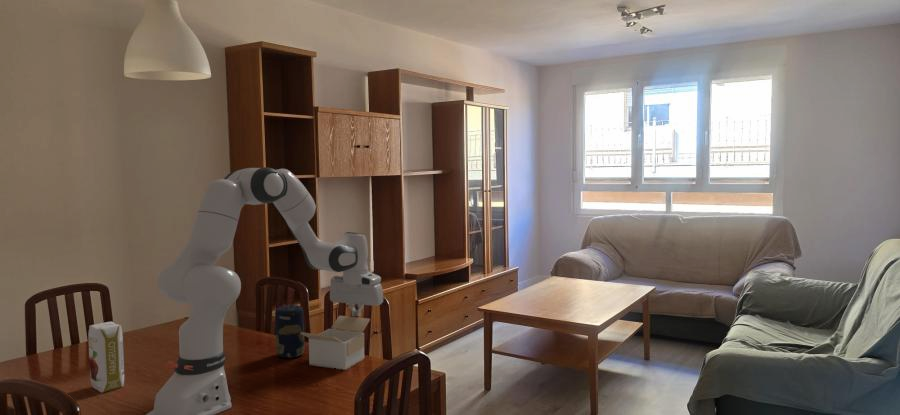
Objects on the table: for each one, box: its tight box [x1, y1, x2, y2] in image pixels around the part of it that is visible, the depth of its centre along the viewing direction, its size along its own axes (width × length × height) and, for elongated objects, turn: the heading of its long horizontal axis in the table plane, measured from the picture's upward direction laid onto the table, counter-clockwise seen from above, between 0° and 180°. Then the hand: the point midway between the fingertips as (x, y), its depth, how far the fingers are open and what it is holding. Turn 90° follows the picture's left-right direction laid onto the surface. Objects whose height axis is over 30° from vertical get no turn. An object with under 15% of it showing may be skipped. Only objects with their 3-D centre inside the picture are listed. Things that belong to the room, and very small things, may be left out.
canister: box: [274, 304, 306, 359], centre depth 202 cm, size 10×10×18 cm
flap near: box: [300, 332, 343, 343], centre depth 186 cm, size 6×12×1 cm
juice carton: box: [87, 321, 125, 393], centre depth 173 cm, size 8×9×19 cm
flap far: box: [330, 315, 371, 333], centre depth 203 cm, size 6×12×1 cm, turn 68°
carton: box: [308, 328, 365, 371], centre depth 195 cm, size 12×15×9 cm
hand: (356, 315), depth 206 cm, fingers closed
